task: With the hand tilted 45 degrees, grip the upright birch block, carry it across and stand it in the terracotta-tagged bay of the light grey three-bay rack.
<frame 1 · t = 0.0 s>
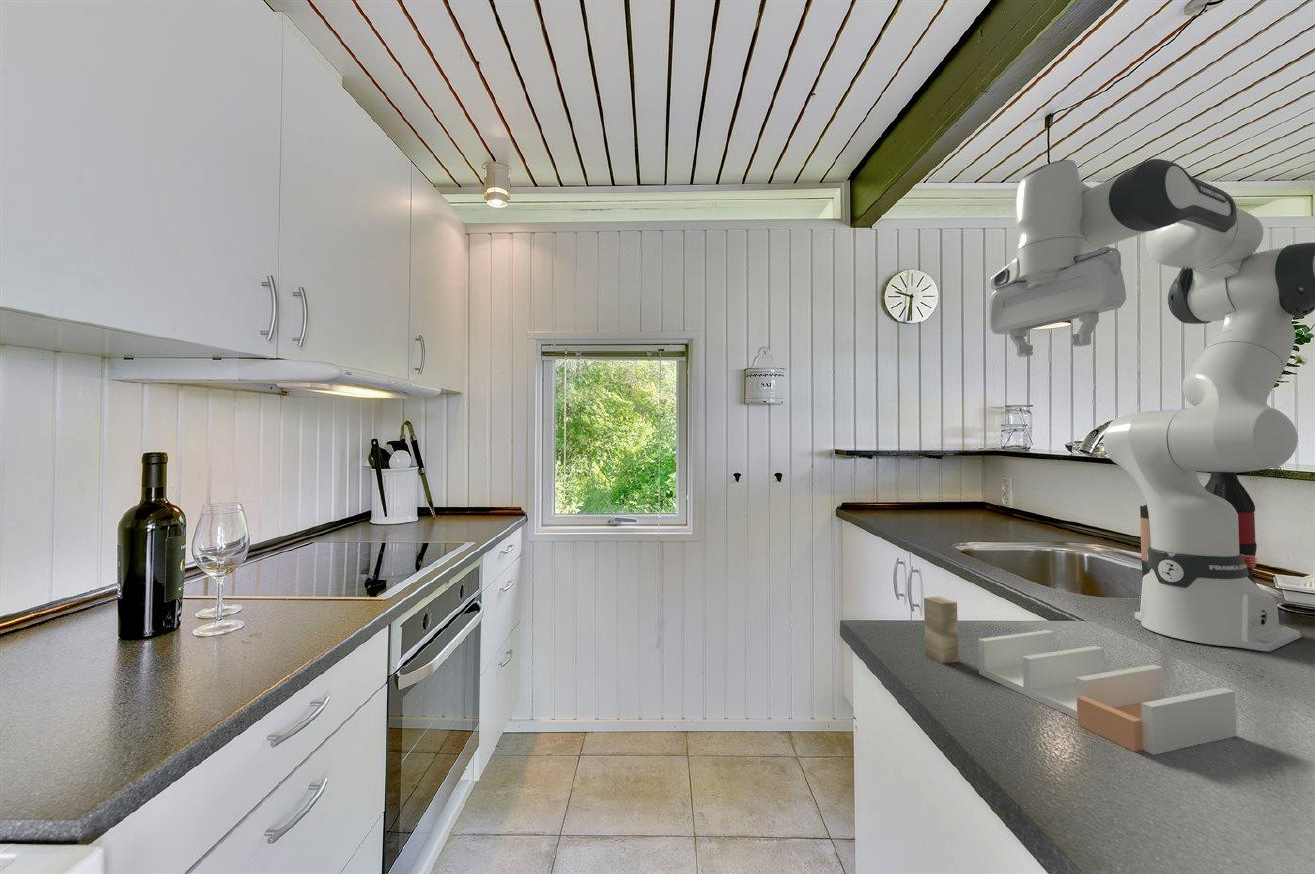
hand: (1052, 351, 88), 48 cm above the countertop, tool pointing down, fingers open, 8 cm apart
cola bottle: (1228, 605, 112), on the countertop
travel mug: (1167, 604, 113), on the countertop
rack: (1091, 701, 70), on the countertop
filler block: (941, 658, 85), on the countertop
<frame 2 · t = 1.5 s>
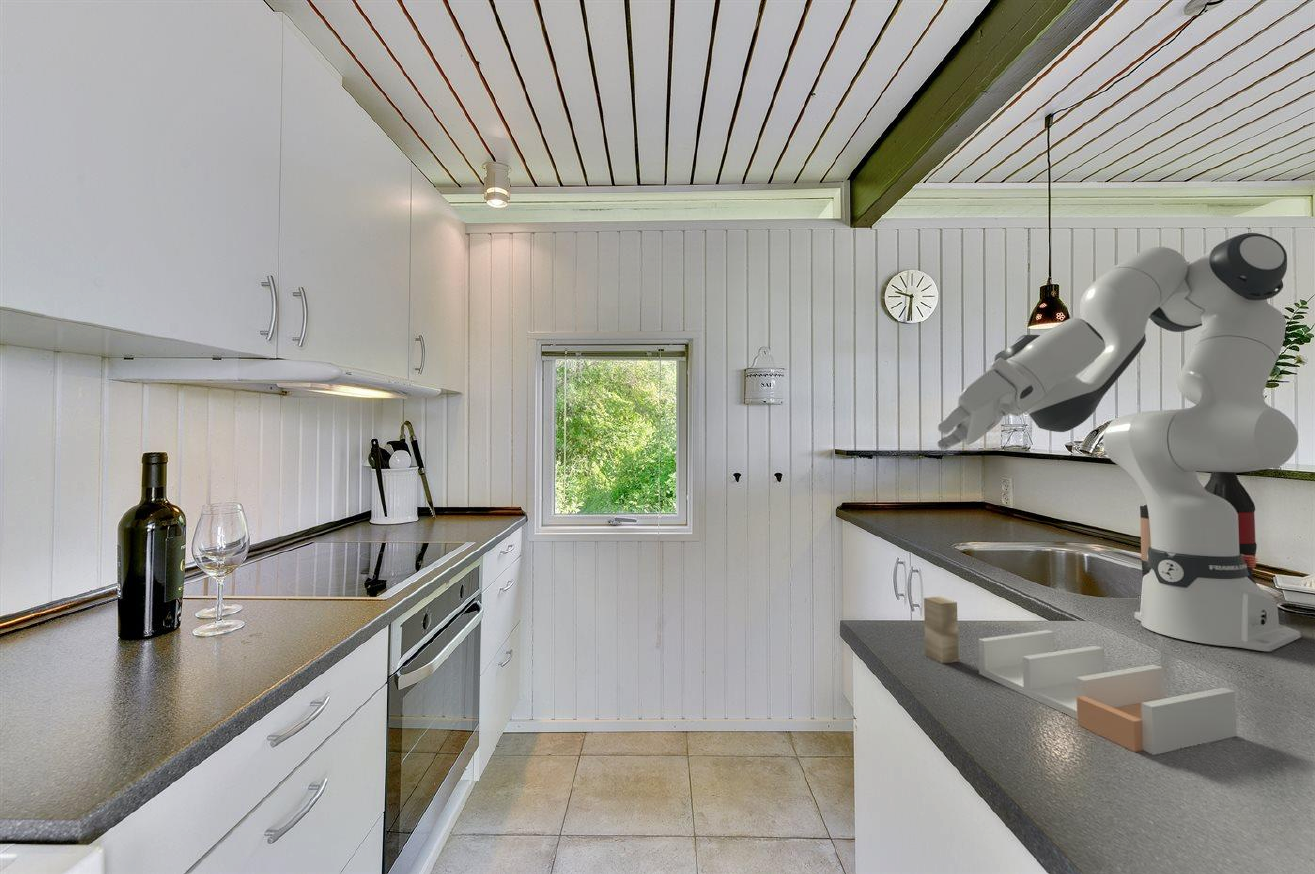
hand: (940, 439, 97), 34 cm above the countertop, tool tilted 55°, fingers open, 8 cm apart
nothing on the countertop moved.
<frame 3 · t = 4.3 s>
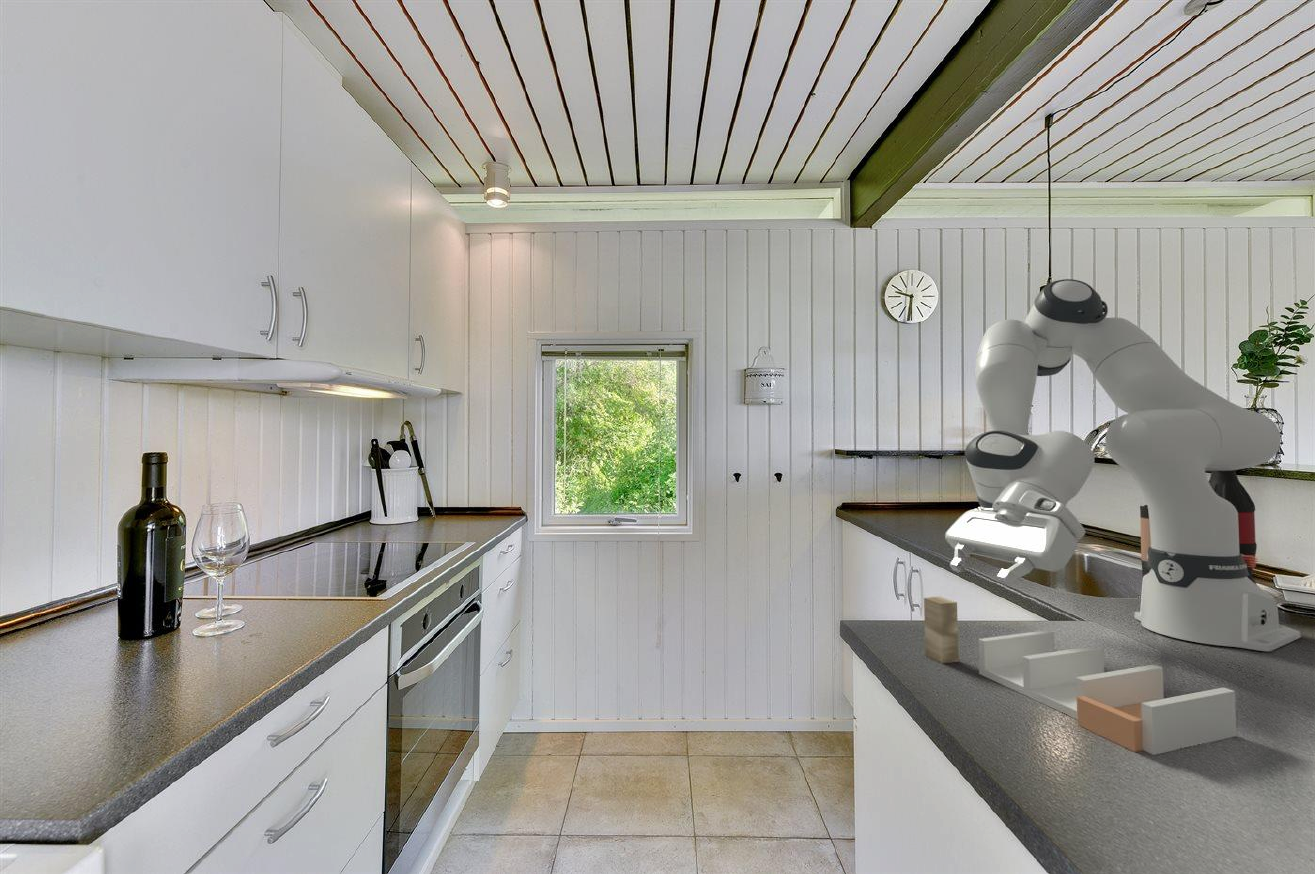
hand: (977, 575, 88), 12 cm above the countertop, tool tilted 45°, fingers open, 8 cm apart
nothing on the countertop moved.
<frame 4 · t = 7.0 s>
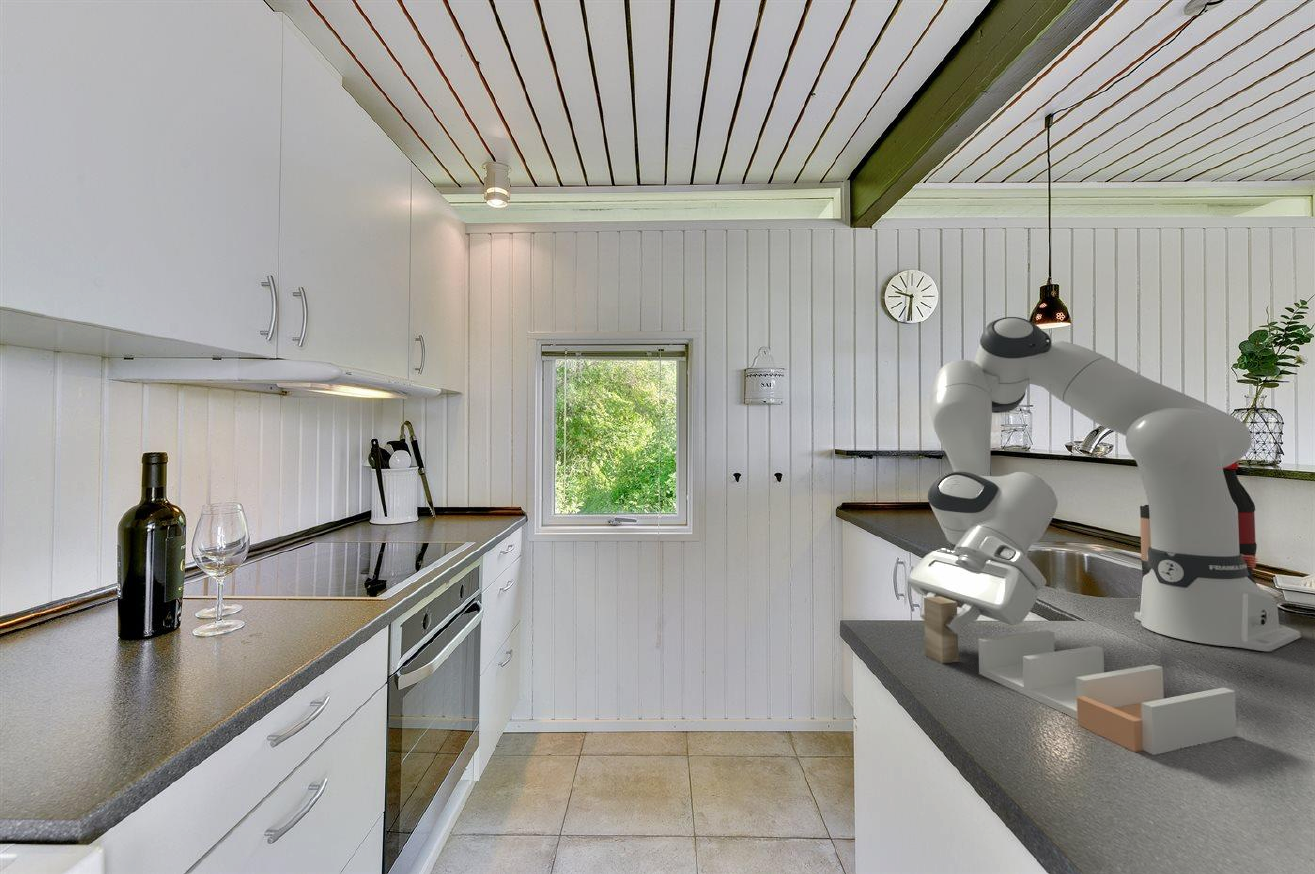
hand: (937, 624, 85), 5 cm above the countertop, tool tilted 45°, fingers closed on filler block, 3 cm apart
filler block: (941, 658, 85), on the countertop, touching gripper
everything else where it was.
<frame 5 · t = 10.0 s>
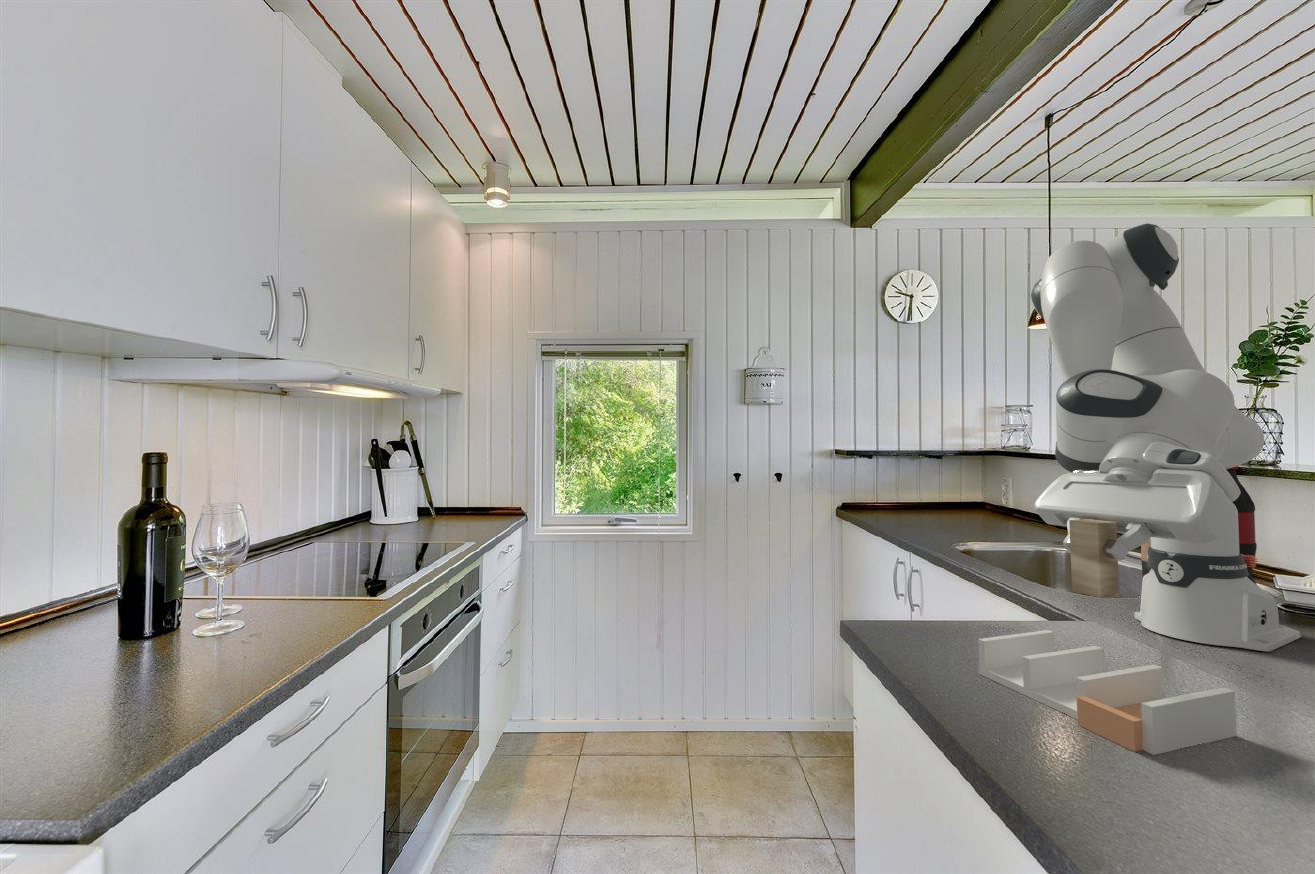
hand: (1090, 552, 68), 19 cm above the countertop, tool tilted 45°, fingers closed on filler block, 3 cm apart
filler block: (1095, 593, 68), point 14 cm above the countertop, touching gripper
everything else where it was.
when the fingers open (8 cm above the countertop, at t = 13.0 s): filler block drops 1 cm, resting on rack.
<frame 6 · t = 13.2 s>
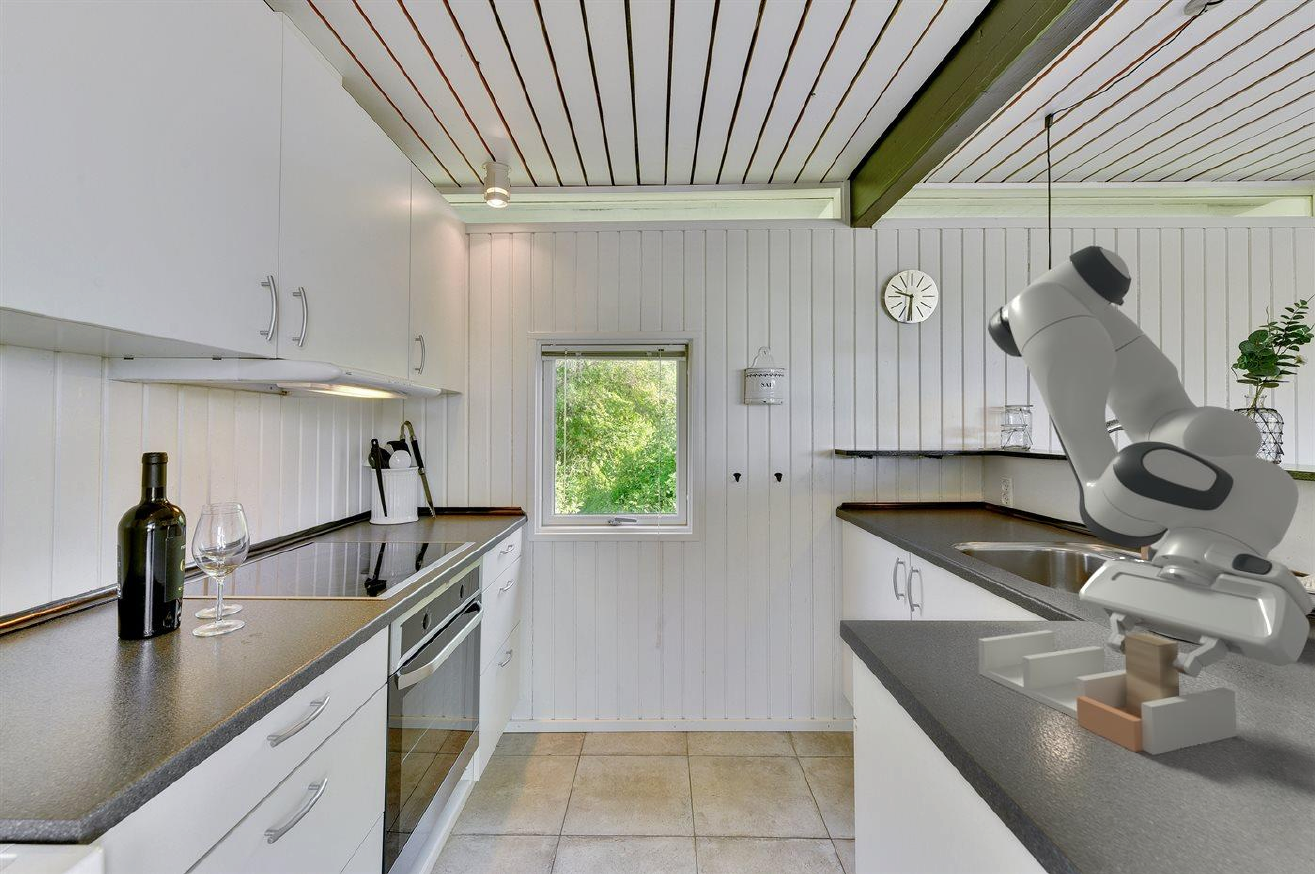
hand: (1148, 660, 63), 8 cm above the countertop, tool tilted 45°, fingers open, 5 cm apart
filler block: (1153, 716, 63), point 1 cm above the countertop, touching rack
everything else where it was.
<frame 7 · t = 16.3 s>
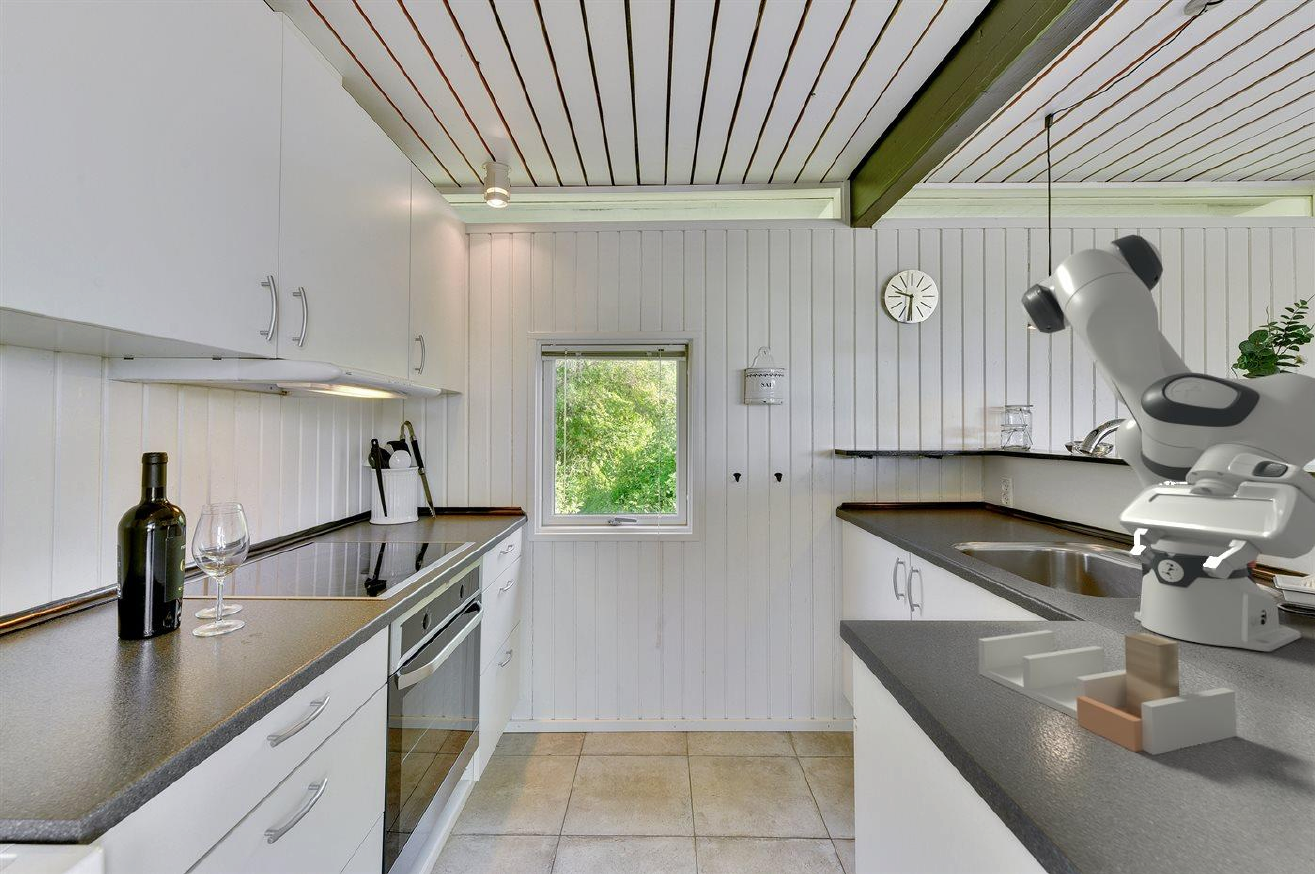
hand: (1172, 566, 68), 17 cm above the countertop, tool tilted 40°, fingers open, 8 cm apart
nothing on the countertop moved.
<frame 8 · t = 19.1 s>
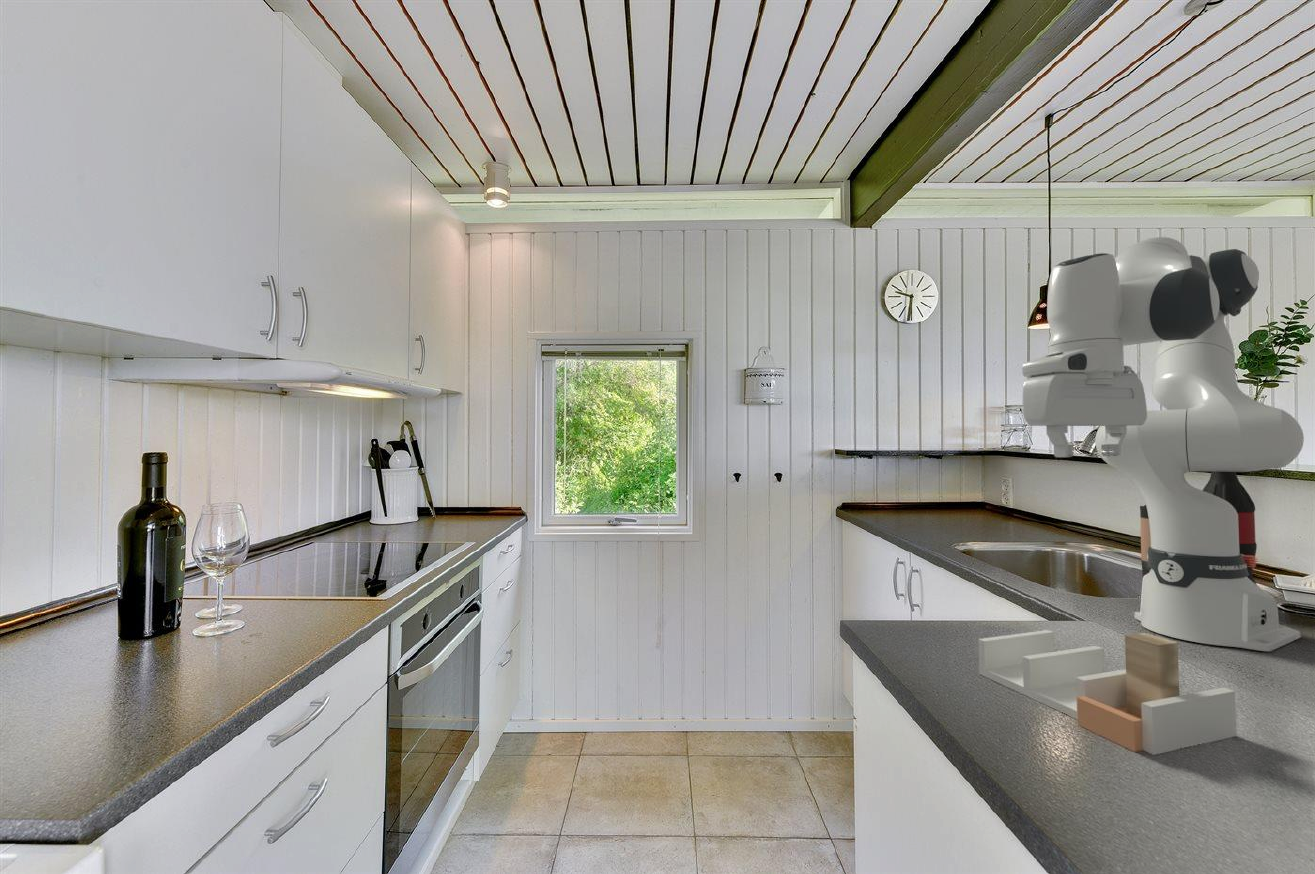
hand: (1087, 456, 81), 31 cm above the countertop, tool pointing down, fingers open, 8 cm apart
nothing on the countertop moved.
at the end: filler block inside the target area on the rack (0.0 cm from its centre), point 1.2 cm above the rack's base; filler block tilted 0°; the gripper is holding nothing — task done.
